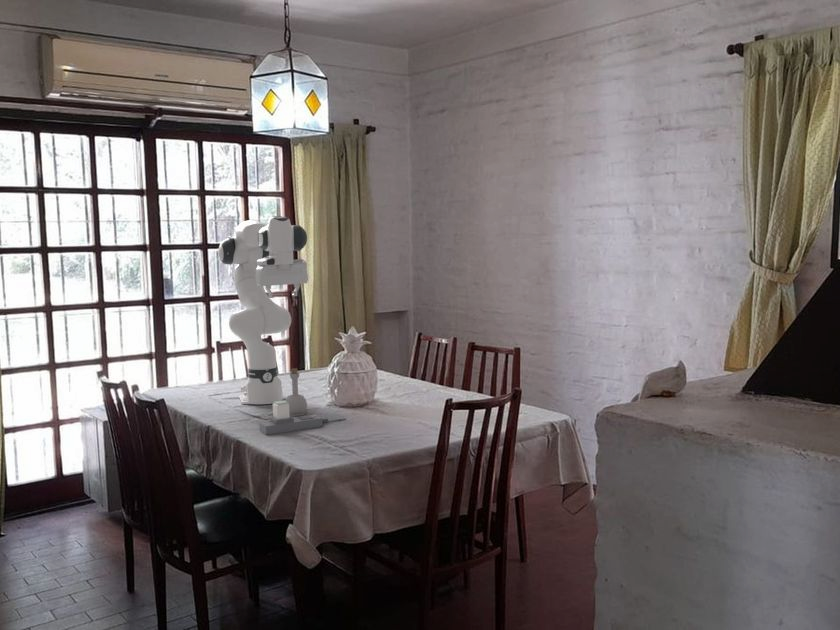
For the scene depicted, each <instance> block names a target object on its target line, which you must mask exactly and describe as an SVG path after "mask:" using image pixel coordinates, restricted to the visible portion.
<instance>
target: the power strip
mask: <svg viewBox="0 0 840 630" xmlns="http://www.w3.org/2000/svg"><path fill="white" fill-rule="evenodd" d="M327 421H328V419H327V418H326V419H322V418H321V417H319V415H317V414H310V415H300V416H290V418H287V419H280V420H276V419H274V418H273V415H272V416H269V419H268V420H266V421H260V422H259V432H261V433H262V434H264V435H265V436H267V435H275V434H280V433H287V432H294V431H301V430H307V429H314V428H313V427H315V428H319V427H320V426H322V427H323V426H324V425H323V424H324V423H322V422H327ZM327 423H328V422H327Z"/></svg>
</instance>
